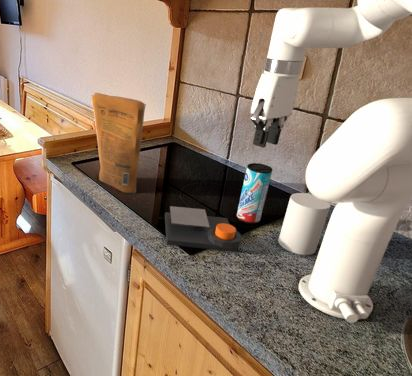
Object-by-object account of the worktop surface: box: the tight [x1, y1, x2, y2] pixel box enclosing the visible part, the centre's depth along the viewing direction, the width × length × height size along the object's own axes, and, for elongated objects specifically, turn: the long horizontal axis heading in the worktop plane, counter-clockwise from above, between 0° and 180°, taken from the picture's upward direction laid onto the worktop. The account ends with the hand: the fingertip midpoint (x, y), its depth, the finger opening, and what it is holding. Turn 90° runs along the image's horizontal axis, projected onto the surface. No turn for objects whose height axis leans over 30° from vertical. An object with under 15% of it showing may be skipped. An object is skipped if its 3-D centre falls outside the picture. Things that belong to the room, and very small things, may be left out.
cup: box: [277, 192, 331, 256], centre depth 95 cm, size 8×8×12 cm
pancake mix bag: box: [90, 92, 147, 194], centre depth 120 cm, size 7×19×28 cm, turn 39°
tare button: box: [215, 223, 237, 240], centre depth 95 cm, size 4×4×2 cm
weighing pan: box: [169, 205, 210, 228], centre depth 102 cm, size 9×9×1 cm
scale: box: [164, 211, 243, 253], centre depth 100 cm, size 15×17×3 cm
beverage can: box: [236, 162, 273, 225], centre depth 105 cm, size 6×6×15 cm
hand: (265, 143), depth 99 cm, fingers open, 3 cm apart
